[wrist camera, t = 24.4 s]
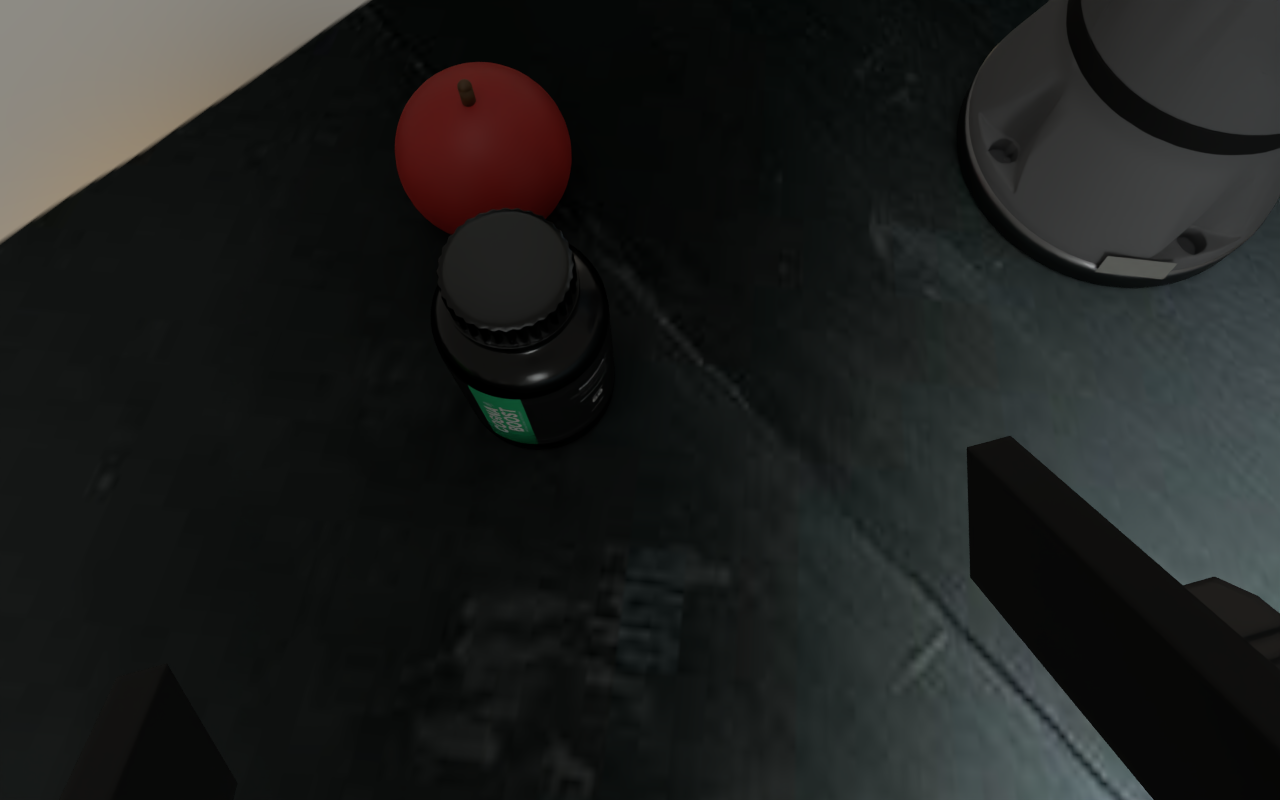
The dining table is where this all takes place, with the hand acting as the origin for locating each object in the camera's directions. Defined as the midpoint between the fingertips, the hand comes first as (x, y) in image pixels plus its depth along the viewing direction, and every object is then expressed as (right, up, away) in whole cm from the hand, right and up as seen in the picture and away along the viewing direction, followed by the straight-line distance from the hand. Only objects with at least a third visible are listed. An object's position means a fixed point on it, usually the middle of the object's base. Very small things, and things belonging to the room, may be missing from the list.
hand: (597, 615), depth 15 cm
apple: (-6, +14, +31) cm, 34 cm away
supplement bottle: (-4, +4, +28) cm, 29 cm away
